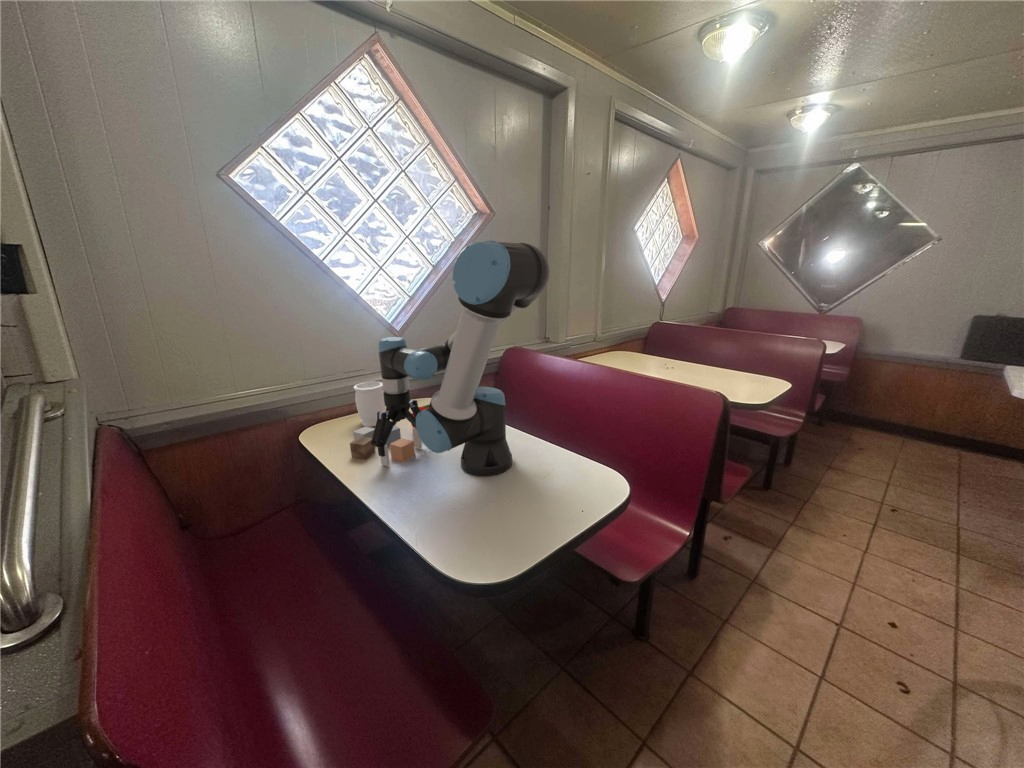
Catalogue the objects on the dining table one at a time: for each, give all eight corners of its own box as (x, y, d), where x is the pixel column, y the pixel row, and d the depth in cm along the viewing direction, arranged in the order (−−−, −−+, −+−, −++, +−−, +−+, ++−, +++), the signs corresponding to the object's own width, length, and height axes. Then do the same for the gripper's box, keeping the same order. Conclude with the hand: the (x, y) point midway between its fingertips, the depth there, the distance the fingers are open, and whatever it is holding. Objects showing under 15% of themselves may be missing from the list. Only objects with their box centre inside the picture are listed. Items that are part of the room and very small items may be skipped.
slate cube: (401, 441, 133) (399, 428, 132) (388, 446, 130) (386, 432, 128) (392, 437, 136) (391, 424, 135) (379, 442, 133) (378, 428, 131)
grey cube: (377, 442, 133) (375, 429, 131) (365, 448, 129) (363, 434, 127) (367, 439, 135) (365, 426, 134) (355, 445, 131) (353, 431, 130)
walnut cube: (375, 452, 126) (373, 438, 124) (365, 459, 121) (363, 444, 120) (361, 451, 127) (359, 436, 126) (351, 457, 122) (349, 443, 121)
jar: (359, 419, 153) (354, 382, 149) (387, 416, 156) (383, 380, 152) (357, 429, 143) (352, 390, 139) (387, 426, 146) (383, 387, 142)
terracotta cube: (415, 455, 123) (413, 441, 122) (403, 462, 119) (401, 447, 117) (403, 452, 125) (401, 437, 124) (391, 458, 121) (389, 443, 120)
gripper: (417, 378, 128) (421, 438, 134) (352, 400, 108) (361, 469, 114) (434, 381, 125) (438, 443, 131) (371, 405, 104) (379, 476, 110)
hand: (402, 455), depth 122 cm, fingers open, 13 cm apart
